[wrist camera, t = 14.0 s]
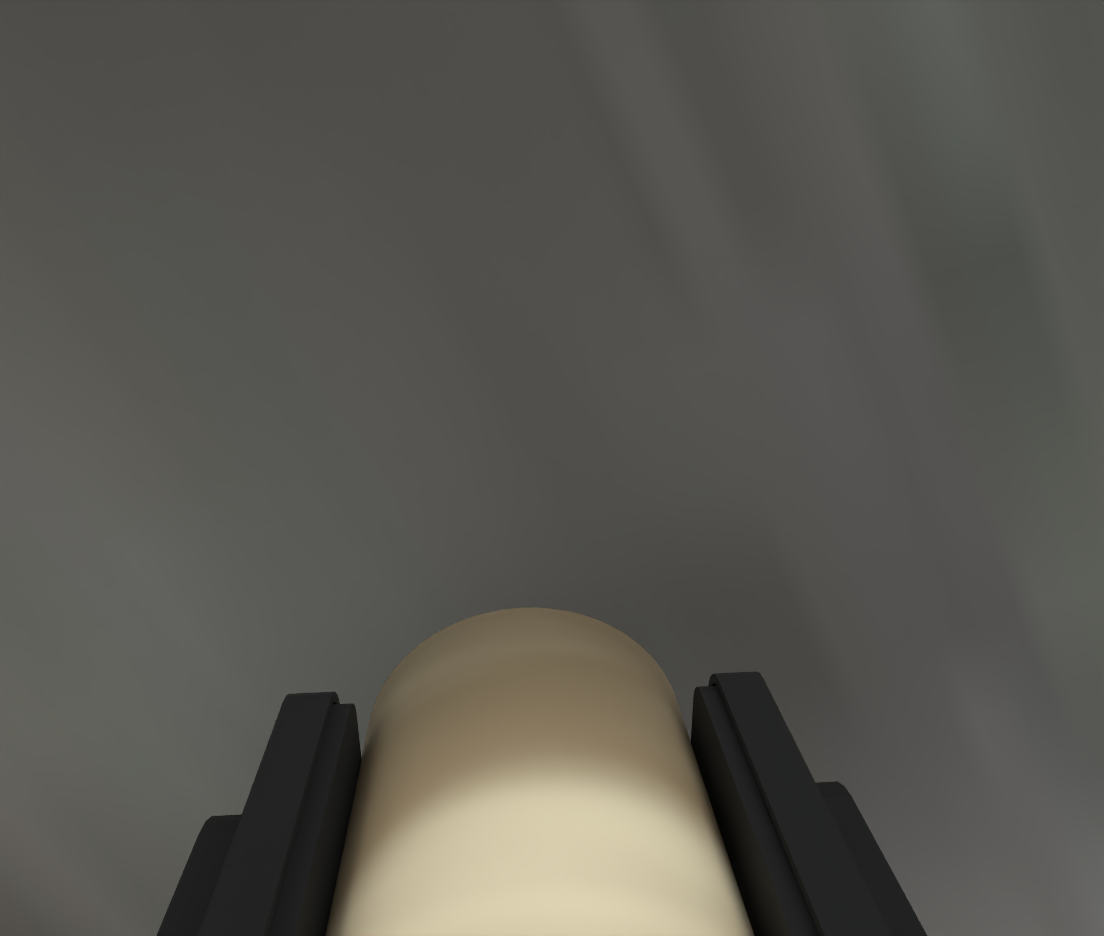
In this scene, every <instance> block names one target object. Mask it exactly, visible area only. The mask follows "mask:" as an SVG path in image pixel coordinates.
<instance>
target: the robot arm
mask: <svg viewBox="0 0 1104 936" xmlns="http://www.w3.org/2000/svg"><path fill="white" fill-rule="evenodd" d="M691 745H692V748H693V751H694V754H695V757H696V760H697V763H698V766H699V769H700V772H701V775H702V778H703V781H704V784H705V787H706V790H707V793H708V796H709V799H710V802H711V805H712V809H713V812H714V815H715V818H716V821H717V824H718V827H719V830H720V833H721V836H722V839H723V842H724V845H725V848H726V851H727V854H728V857H729V860H730V863H731V866H732V869H733V872H734V875H735V878H736V881H737V884H738V887H739V890H740V894H741V897H742V900H743V903H744V906H745V909H746V912H747V915H748V918H749V921H750V924H751V927H752V930H753V933H754V936H927V934H926V933H925V931H924V929H923V927H922V925H921V923H920V922H919V920H918V918H917V916H916V914H915V912H914V911H913V909H912V907H911V905H910V903H909V901H908V900H907V898H906V896H905V894H904V892H903V890H902V888H901V887H900V885H899V883H898V881H897V879H896V877H895V876H894V874H893V872H892V870H891V868H890V866H889V865H888V863H887V861H886V859H885V857H884V855H883V853H882V852H881V850H880V848H879V846H878V844H877V842H876V841H875V839H874V837H873V835H872V833H871V831H870V830H869V828H868V826H867V824H866V822H865V820H864V819H863V817H862V815H861V813H860V811H859V809H858V807H857V806H856V804H855V802H854V800H853V798H852V796H851V795H850V794H849V792H848V791H847V789H846V788H845V786H843V785H842V784H840V783H839V782H821V783H815V781H814V779H813V777H812V775H811V773H810V771H809V769H808V767H807V765H806V763H805V761H804V759H803V757H802V755H801V753H800V751H799V749H798V747H797V745H796V743H795V741H794V739H793V737H792V735H791V733H790V731H789V729H788V727H787V725H786V723H785V721H784V719H783V717H782V715H781V713H780V711H779V709H778V707H777V705H776V703H775V701H774V699H773V697H772V695H771V693H770V691H769V689H768V687H767V685H766V683H765V681H764V679H763V677H762V676H761V674H760V673H758V672H740V673H719V674H712V675H711V677H710V680H709V686H704V687H696V688H695V691H694V698H693V715H692V732H691ZM360 765H361V751H360V742H359V733H358V723H357V715H356V708H355V705H354V704H340V703H339V698H338V695H337V693H336V692H320V693H299V694H288V695H287V696H286V697H285V699H284V701H283V703H282V706H281V709H280V712H279V714H278V717H277V720H276V723H275V725H274V728H273V731H272V734H271V736H270V739H269V742H268V745H267V747H266V750H265V753H264V755H263V758H262V761H261V764H260V766H259V769H258V772H257V775H256V777H255V780H254V783H253V786H252V788H251V791H250V794H249V797H248V799H247V802H246V805H245V807H244V810H243V813H242V815H225V816H211V817H210V818H209V819H208V820H207V821H206V822H205V824H204V825H203V827H202V829H201V831H200V833H199V835H198V837H197V840H196V842H195V845H194V847H193V849H192V852H191V854H190V857H189V859H188V861H187V864H186V866H185V869H184V871H183V873H182V876H181V878H180V881H179V883H178V885H177V888H176V890H175V893H174V895H173V897H172V900H171V902H170V905H169V907H168V909H167V912H166V914H165V917H164V919H163V921H162V924H161V926H160V929H159V931H158V933H157V936H325V934H326V929H327V924H328V919H329V915H330V910H331V905H332V900H333V895H334V890H335V886H336V881H337V876H338V871H339V866H340V862H341V857H342V852H343V847H344V842H345V837H346V833H347V828H348V823H349V818H350V813H351V809H352V804H353V799H354V794H355V789H356V784H357V780H358V775H359V770H360Z"/></svg>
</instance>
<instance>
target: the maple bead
mask: <svg viewBox="0 0 1104 936" xmlns="http://www.w3.org/2000/svg"><path fill="white" fill-rule="evenodd" d="M325 936H754V933H753V930H752V927H751V924H750V921H749V918H748V915H747V912H746V909H745V906H744V903H743V900H742V897H741V894H740V890H739V887H738V884H737V881H736V878H735V875H734V872H733V869H732V866H731V863H730V860H729V857H728V854H727V851H726V848H725V845H724V842H723V839H722V836H721V833H720V830H719V827H718V824H717V821H716V818H715V815H714V812H713V809H712V805H711V802H710V799H709V796H708V793H707V790H706V787H705V784H704V781H703V778H702V775H701V772H700V769H699V766H698V763H697V760H696V757H695V754H694V751H693V748H692V745H691V741H690V738H689V735H688V732H687V729H686V726H685V723H684V720H683V717H682V714H681V711H680V708H679V705H678V702H677V699H676V697H675V694H674V691H673V688H672V686H671V684H670V682H669V681H668V679H667V677H666V675H665V673H664V672H663V670H662V669H661V668H660V666H659V665H658V664H657V662H656V661H655V660H654V658H653V657H652V656H651V655H650V654H649V653H648V652H647V651H646V650H645V649H644V648H643V647H641V646H640V645H639V644H638V643H637V642H635V641H634V640H633V639H631V638H630V637H629V636H627V635H626V634H624V633H623V632H621V631H619V630H617V629H616V628H614V627H612V626H610V625H608V624H606V623H604V622H601V621H599V620H596V619H594V618H591V617H589V616H585V615H581V614H578V613H574V612H570V611H565V610H558V609H550V608H526V607H523V608H513V609H502V610H497V611H493V612H488V613H483V614H479V615H476V616H473V617H470V618H467V619H464V620H462V621H459V622H457V623H455V624H453V625H450V626H448V627H446V628H444V629H442V630H440V631H439V632H437V633H435V634H434V635H432V636H431V637H429V638H428V639H426V640H424V641H423V642H422V643H420V644H419V645H418V646H417V647H416V648H414V649H413V650H412V651H411V652H410V653H409V654H407V655H406V656H405V658H404V659H403V660H402V661H401V662H400V663H399V664H398V665H397V666H396V667H395V669H394V670H393V671H392V673H391V674H390V676H389V677H388V679H387V680H386V681H385V683H384V684H383V686H382V688H381V690H380V693H379V695H378V697H377V699H376V701H375V704H374V707H373V710H372V714H371V717H370V721H369V726H368V730H367V735H366V740H365V745H364V750H363V755H362V759H361V765H360V770H359V775H358V780H357V784H356V789H355V794H354V799H353V804H352V809H351V813H350V818H349V823H348V828H347V833H346V837H345V842H344V847H343V852H342V857H341V862H340V866H339V871H338V876H337V881H336V886H335V890H334V895H333V900H332V905H331V910H330V915H329V919H328V924H327V929H326V934H325Z"/></svg>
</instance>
